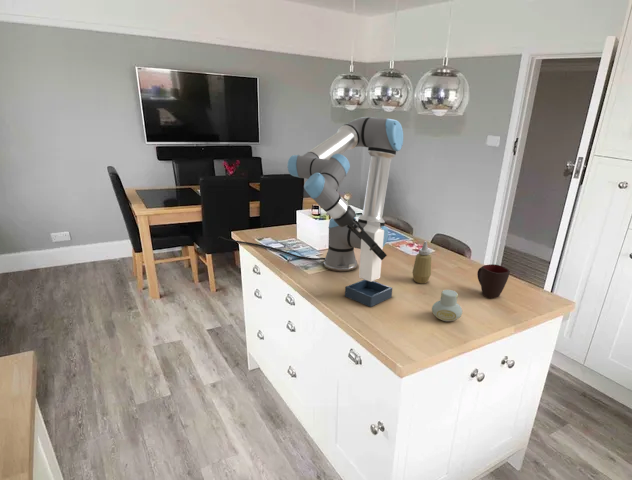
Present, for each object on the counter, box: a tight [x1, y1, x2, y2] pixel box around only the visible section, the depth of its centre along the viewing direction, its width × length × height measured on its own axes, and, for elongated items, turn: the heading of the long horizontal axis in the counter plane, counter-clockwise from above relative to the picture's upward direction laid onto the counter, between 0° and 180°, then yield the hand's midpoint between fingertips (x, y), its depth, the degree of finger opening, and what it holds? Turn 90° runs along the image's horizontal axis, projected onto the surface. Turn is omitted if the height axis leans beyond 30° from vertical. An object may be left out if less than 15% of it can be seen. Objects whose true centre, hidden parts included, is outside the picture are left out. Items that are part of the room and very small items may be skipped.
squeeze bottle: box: [411, 241, 432, 284], centre depth 179 cm, size 8×8×18 cm
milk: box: [358, 220, 384, 282], centre depth 156 cm, size 6×6×22 cm
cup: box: [476, 264, 511, 299], centre depth 173 cm, size 10×14×12 cm
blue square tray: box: [344, 279, 393, 308], centre depth 163 cm, size 13×13×4 cm
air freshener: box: [431, 289, 463, 322], centre depth 150 cm, size 11×8×10 cm
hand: (379, 253), depth 158 cm, fingers closed on milk, 8 cm apart
